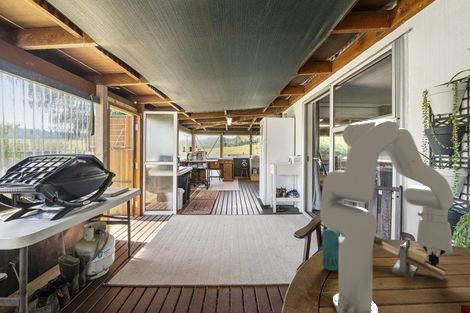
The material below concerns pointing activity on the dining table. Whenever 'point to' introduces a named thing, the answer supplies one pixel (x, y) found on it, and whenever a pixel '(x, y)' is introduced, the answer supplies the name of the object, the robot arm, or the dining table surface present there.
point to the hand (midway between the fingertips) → (433, 264)
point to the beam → (395, 252)
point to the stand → (404, 262)
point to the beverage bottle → (330, 249)
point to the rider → (416, 255)
